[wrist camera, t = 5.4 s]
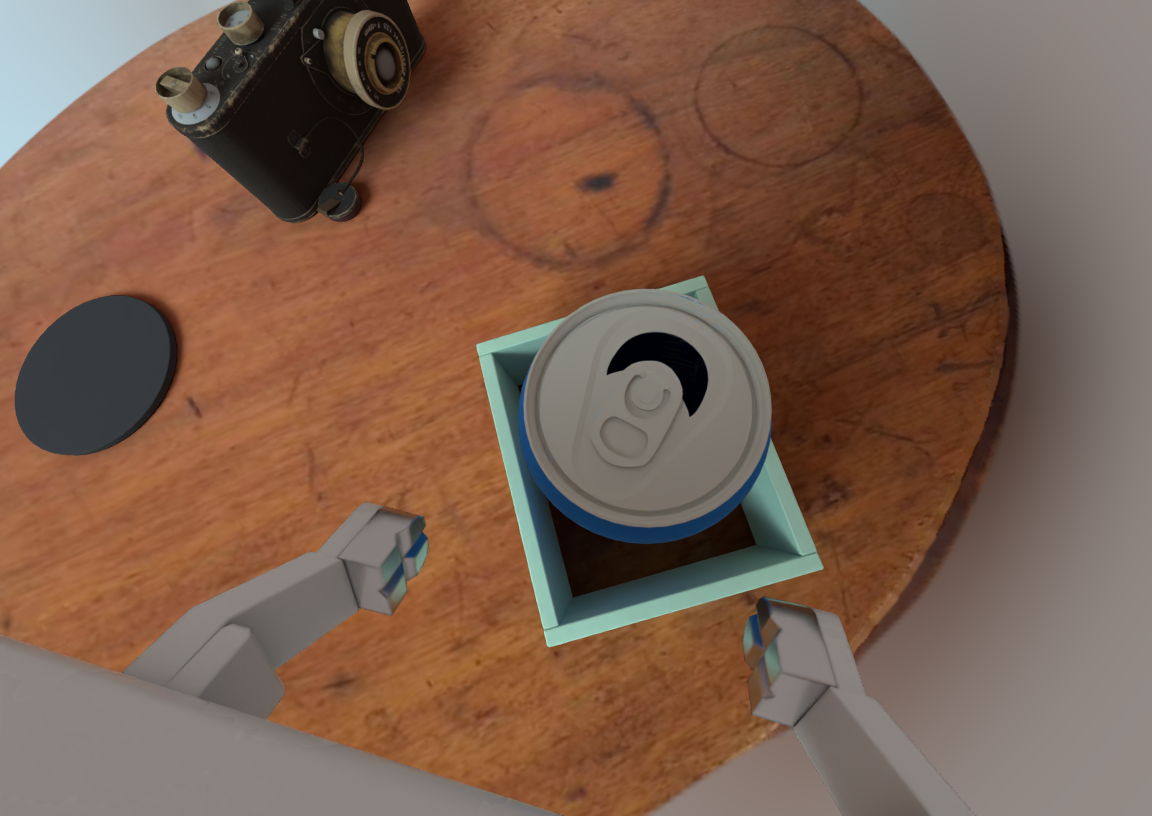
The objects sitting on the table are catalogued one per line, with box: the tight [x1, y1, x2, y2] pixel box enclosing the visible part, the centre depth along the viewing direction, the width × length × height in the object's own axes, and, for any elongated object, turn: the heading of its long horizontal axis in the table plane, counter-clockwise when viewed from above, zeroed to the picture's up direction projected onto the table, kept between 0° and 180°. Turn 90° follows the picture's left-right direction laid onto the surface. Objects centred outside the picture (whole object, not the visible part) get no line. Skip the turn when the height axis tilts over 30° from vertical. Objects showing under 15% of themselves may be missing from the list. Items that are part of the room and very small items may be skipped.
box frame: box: [476, 276, 824, 647], centre depth 19 cm, size 12×10×5 cm
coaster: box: [15, 296, 177, 455], centre depth 25 cm, size 10×10×1 cm
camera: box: [155, 0, 425, 223], centre depth 24 cm, size 16×7×8 cm, turn 154°
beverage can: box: [518, 289, 772, 544], centre depth 15 cm, size 6×6×12 cm
